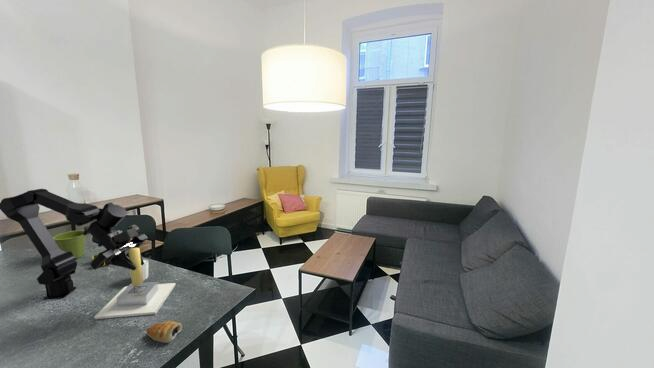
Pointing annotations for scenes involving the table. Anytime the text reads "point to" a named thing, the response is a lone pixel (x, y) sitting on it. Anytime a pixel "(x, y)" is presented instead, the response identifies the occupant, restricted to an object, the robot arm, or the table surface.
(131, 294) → the metal collar
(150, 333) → the pastry
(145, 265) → the white short cylinder
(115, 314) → the base plate
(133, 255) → the pin
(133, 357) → the table surface
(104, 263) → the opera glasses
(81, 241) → the plant pot
